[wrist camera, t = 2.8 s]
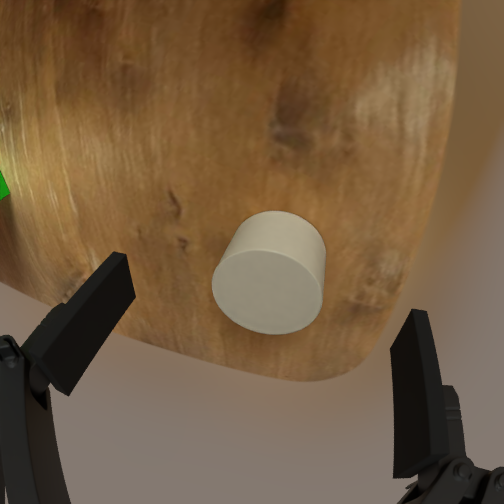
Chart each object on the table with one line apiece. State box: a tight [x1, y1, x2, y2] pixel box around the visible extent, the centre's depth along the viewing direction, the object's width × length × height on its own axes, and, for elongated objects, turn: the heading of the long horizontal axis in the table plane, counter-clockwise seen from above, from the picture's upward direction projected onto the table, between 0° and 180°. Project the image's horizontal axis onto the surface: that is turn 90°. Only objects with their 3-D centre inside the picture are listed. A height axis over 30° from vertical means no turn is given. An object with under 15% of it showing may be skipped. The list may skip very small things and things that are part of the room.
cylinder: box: [212, 211, 326, 335], centre depth 15 cm, size 5×5×4 cm
